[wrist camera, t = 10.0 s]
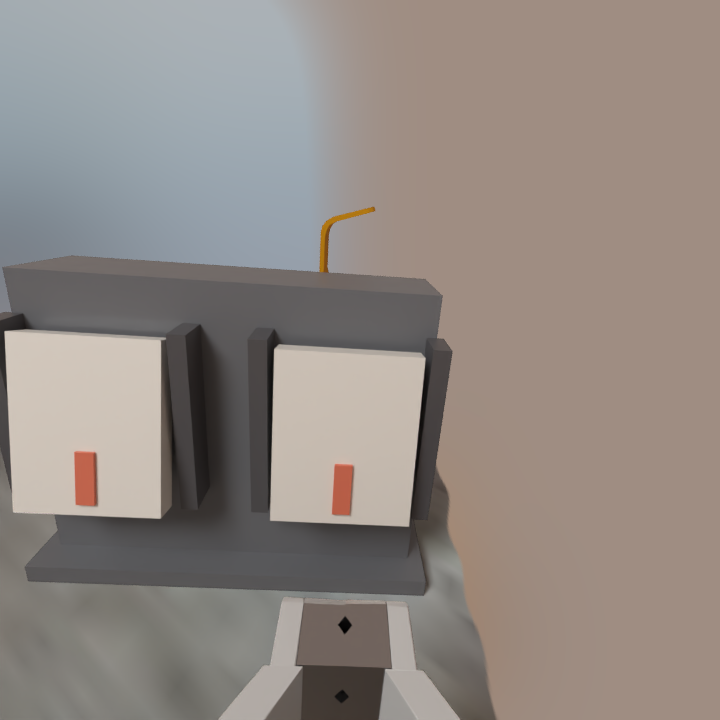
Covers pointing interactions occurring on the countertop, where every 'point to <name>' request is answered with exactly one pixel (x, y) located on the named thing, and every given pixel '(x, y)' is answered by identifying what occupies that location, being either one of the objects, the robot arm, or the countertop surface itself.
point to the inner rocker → (89, 423)
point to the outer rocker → (344, 434)
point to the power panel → (232, 419)
